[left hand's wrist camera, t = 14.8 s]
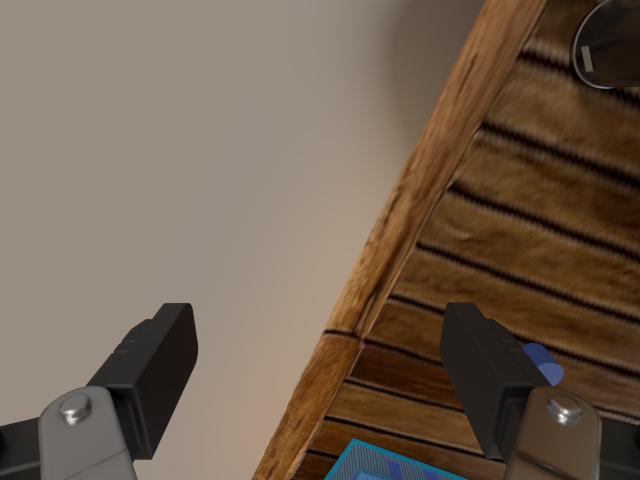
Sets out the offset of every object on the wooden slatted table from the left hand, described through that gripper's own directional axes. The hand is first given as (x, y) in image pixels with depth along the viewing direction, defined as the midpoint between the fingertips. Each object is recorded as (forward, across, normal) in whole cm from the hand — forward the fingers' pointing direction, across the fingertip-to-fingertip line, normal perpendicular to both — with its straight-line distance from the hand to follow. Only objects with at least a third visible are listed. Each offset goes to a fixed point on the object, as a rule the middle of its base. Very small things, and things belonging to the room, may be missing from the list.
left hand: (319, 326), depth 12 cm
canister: (+37, +33, -31) cm, 59 cm away
